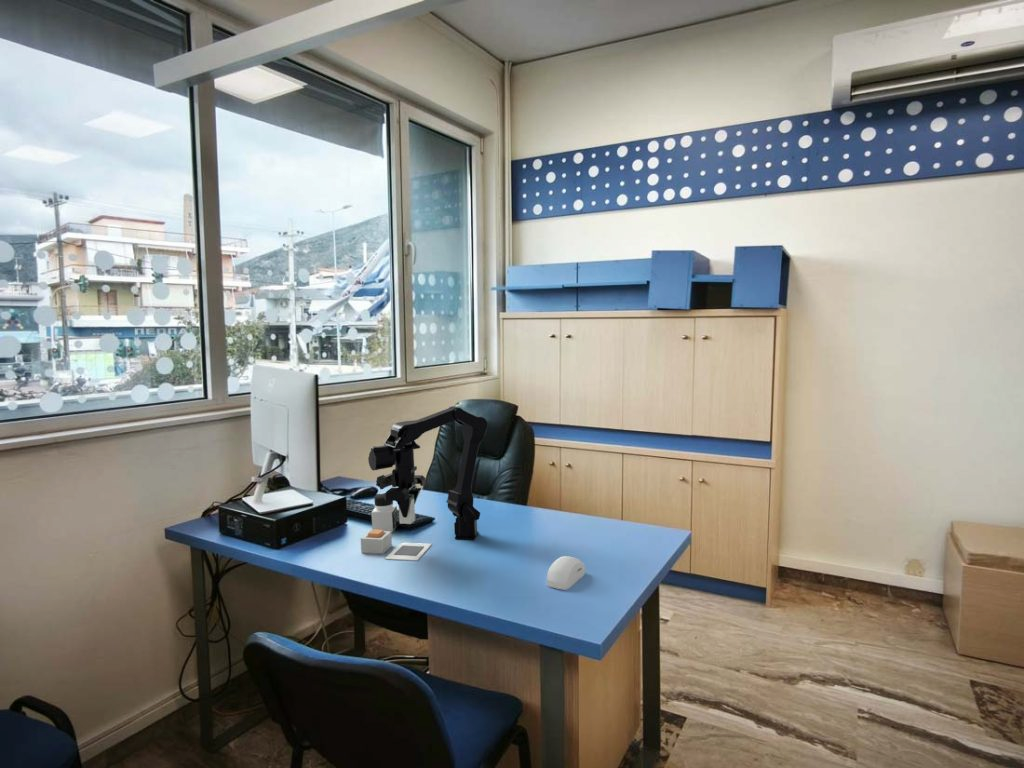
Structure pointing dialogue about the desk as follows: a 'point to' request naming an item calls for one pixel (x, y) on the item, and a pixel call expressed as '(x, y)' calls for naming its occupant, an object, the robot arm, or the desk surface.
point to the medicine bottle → (384, 514)
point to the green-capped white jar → (411, 513)
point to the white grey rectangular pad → (408, 551)
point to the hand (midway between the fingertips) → (407, 515)
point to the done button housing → (376, 543)
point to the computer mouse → (565, 572)
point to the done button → (375, 533)
